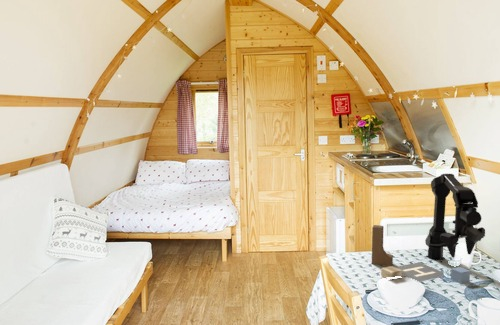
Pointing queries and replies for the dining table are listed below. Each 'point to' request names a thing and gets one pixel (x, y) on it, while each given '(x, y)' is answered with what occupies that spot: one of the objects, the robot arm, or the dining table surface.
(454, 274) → the blue cube
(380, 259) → the wooden block
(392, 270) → the birch block
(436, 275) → the letter board
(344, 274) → the dining table surface
